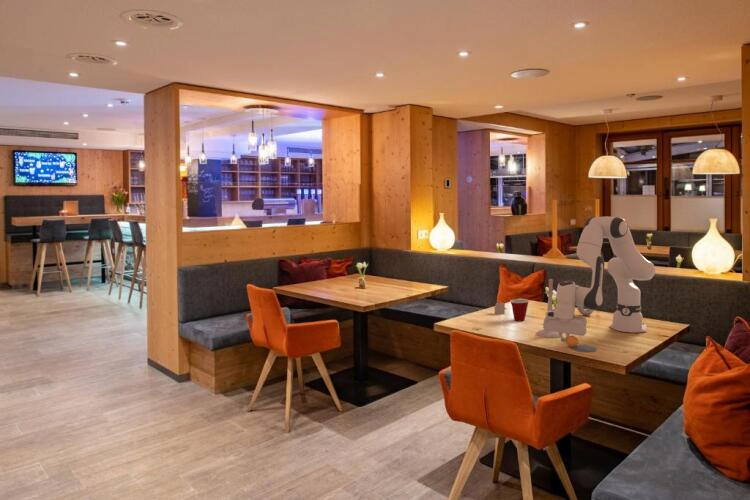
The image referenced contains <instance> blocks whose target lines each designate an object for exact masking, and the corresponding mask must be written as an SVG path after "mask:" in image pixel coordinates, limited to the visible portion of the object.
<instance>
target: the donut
mask: <svg viewBox="0 0 750 500" xmlns="http://www.w3.org/2000/svg"><path fill="white" fill-rule="evenodd" d="M584 308H585V307H581V306H577V311H578V313H579V314H581V316H590V315H592V314H593V313H594V311H595V310H591V309H588V308H586V309H584Z"/></svg>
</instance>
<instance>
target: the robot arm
mask: <svg viewBox="0 0 750 500" xmlns="http://www.w3.org/2000/svg"><path fill="white" fill-rule="evenodd" d="M604 239H608V241H609V243H610V247H611V249H612V253H613V254H614V255H615V257H612V258H610V260H608V262H607V267H606V269H607V272H608V273H609V275H610V276H612V277H613V279H614V281H615V284H616V287H617V302H616V310H615V311H614V312H613V315H612V323H611V324H609V326H608V327H609V328H610V329H614V330H615V331H619V332H624V333H647V332H648V331H647V324H646V323H644V321H643V318H644V317H643V314H642V312H641V311H642V305H641V304H642V303H641V293H642V292H641V289H640V288H639V287H638V286H637V285H636V284H635V283H634V281H635V280H636V281H650V280H651V279H653V277H654V275H655V273H656V266H655V265H654V263H653V262H651V261H649V260H648V259H647V258H646V257H644V256H643V254H641V252H640V251H639V250H638V248H637V247H636V244H635V241H634V239H633V235H632V233H631V230H630V228H629V226H628V222H627V221H626V219H624V218H623V217H618V216H615V217H614V216H592V217H591V216H590V217H589V218H587V219H586V220H585V221H584V224H583V230H582V232H581V234H580V238H579V239H578V243H577V246H576V255H577V257H578V259H579V261H581V262H582V263H584V264H585V265H587V266H589V267H590V269H591V271H592V275H591V285H590V287H584V286H579V285H577V284H576V283H575V282H574V281H573V280H570V279H569V280H561V281H560V282H558V284H557V288H556V295H555V296H556V297H555V300H556V304H555V305H556V306H555V309H552V310H549V311H547V310H546V312H545V317H544V319H543V324H542V328H543V329H544V330H548V331H555V332H559V336H560V337H559V339H560V342H564V343H566V339H567V338H568V337H569V336H571V335H573V336H581V337H583V336H585V335H586V334H587V323H588V322H587V321H588V320H587V318H586V317H584V315H575V314H576V312H575V310H576V307H575V306H577V307H578V306H581V307H583V308H585V309H591V310H594V311H595V310H597V309H599V308H600V307H601V306H602V305H603V302H604V293H603V289H604V288H603V287H604V276H605V259H604V258H603V257H602V254H601V252H602V251H601V250H602V247H603V242H604ZM633 280H634V281H633ZM563 334H565V337H564V336H563Z"/></svg>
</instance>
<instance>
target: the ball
mask: <svg viewBox="0 0 750 500" xmlns="http://www.w3.org/2000/svg"><path fill="white" fill-rule="evenodd" d="M565 343H566V345H567V346H569V347H575V346H577V345H579V339H578V338H577V336H576V335H569V337H568V338H567V339H566V342H565Z"/></svg>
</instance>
